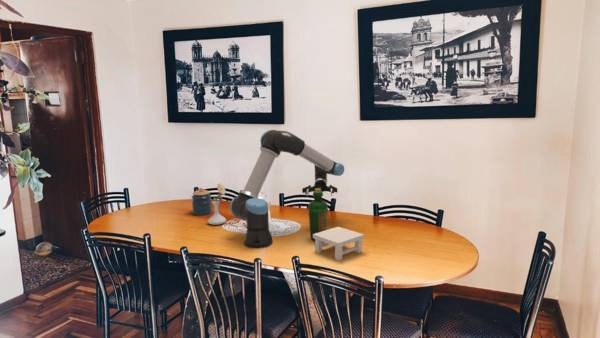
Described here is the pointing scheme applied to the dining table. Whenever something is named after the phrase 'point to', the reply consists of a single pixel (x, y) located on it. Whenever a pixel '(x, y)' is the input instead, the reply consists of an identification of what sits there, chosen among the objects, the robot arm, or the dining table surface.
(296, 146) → the robot arm
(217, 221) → the flower in vase
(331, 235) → the stool
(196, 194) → the canister
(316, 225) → the bottle
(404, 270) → the dining table surface
